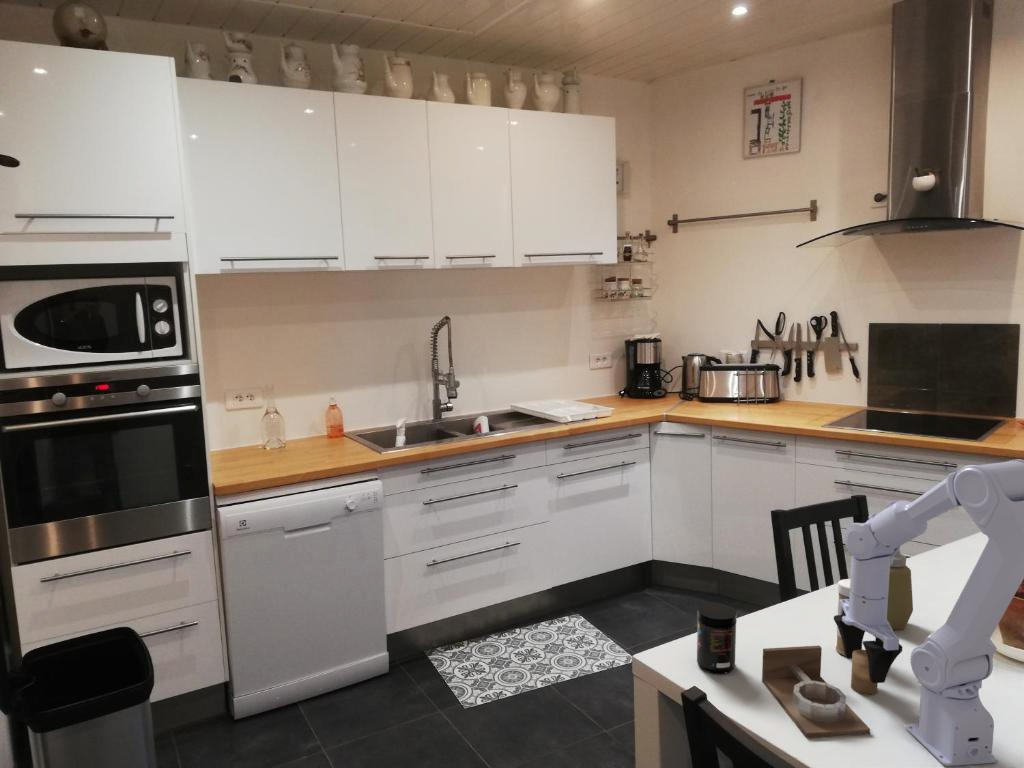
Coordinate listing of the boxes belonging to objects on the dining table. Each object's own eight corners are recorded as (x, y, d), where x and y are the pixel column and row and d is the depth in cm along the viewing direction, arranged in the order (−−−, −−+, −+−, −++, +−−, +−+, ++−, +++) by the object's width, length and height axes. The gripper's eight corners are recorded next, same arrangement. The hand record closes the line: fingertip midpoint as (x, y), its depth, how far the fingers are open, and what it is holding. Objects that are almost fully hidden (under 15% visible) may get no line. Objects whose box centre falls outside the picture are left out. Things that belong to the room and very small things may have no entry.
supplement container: (722, 654, 135) (723, 600, 134) (742, 672, 129) (744, 616, 128) (689, 659, 134) (690, 605, 132) (708, 678, 127) (709, 621, 126)
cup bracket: (869, 733, 111) (871, 696, 110) (806, 738, 110) (807, 700, 109) (817, 678, 127) (819, 645, 126) (761, 681, 126) (763, 648, 125)
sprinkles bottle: (867, 653, 135) (871, 584, 133) (853, 661, 132) (856, 590, 130) (844, 644, 138) (847, 576, 137) (830, 650, 136) (833, 581, 134)
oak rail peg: (882, 694, 121) (884, 660, 121) (859, 696, 121) (860, 662, 120) (868, 681, 125) (870, 648, 124) (846, 683, 125) (847, 650, 124)
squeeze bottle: (921, 628, 144) (927, 541, 142) (891, 636, 141) (896, 547, 139) (887, 612, 151) (891, 528, 149) (857, 619, 148) (861, 533, 146)
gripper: (823, 576, 128) (820, 649, 130) (870, 613, 113) (865, 694, 115) (862, 574, 128) (858, 647, 130) (913, 611, 114) (908, 692, 116)
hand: (864, 669), depth 123 cm, fingers open, 7 cm apart
